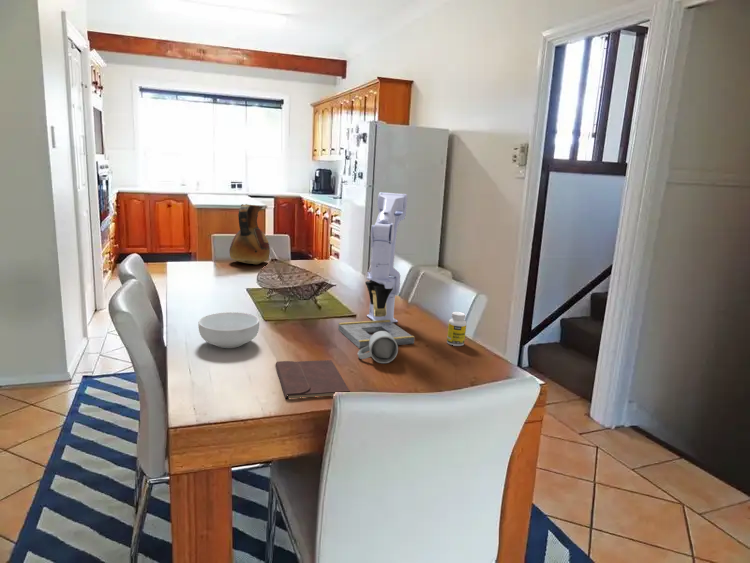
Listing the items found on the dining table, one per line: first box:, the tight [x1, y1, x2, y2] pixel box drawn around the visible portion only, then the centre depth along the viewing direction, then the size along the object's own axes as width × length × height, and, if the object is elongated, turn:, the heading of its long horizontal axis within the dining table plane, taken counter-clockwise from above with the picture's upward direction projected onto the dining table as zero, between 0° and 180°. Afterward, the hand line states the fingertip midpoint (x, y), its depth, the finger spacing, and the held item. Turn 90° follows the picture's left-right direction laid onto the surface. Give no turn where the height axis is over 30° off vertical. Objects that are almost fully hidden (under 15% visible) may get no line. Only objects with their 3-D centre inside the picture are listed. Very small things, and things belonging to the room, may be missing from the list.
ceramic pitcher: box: [229, 203, 271, 265], centre depth 262 cm, size 20×20×30 cm
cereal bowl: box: [198, 311, 260, 349], centre depth 149 cm, size 17×17×7 cm
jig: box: [338, 320, 415, 350], centre depth 164 cm, size 18×18×2 cm
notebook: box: [274, 359, 351, 399], centre depth 128 cm, size 15×20×2 cm
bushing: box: [372, 289, 387, 317], centre depth 162 cm, size 5×5×8 cm
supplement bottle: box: [446, 311, 467, 347], centre depth 161 cm, size 5×5×10 cm
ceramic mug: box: [357, 331, 399, 364], centre depth 145 cm, size 11×8×8 cm
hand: (377, 306), depth 162 cm, fingers closed on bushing, 4 cm apart
